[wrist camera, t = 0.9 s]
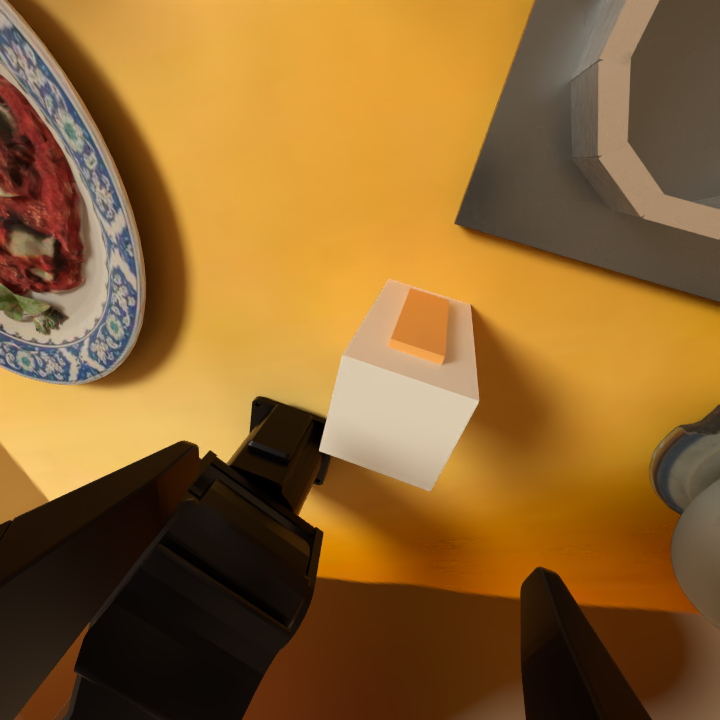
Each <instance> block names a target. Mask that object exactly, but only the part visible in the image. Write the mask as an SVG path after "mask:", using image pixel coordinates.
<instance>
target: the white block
mask: <svg viewBox="0 0 720 720" xmlns="http://www.w3.org/2000/svg"><path fill="white" fill-rule="evenodd" d="M478 403H479V390H478V379H477V368H476V357H475V346H474V335H473V324H472V313H471V304H468V303H465V302H462V301H459V300H455V299H452V298H449V297H446V296H443V295H440V294H436V293H433V292H430V291H427V290H424V289H420V288H417V287H414V286H411V285H408V284H405V283H401V282H398V281H395V280H392V279H388V281H387V282H386V284H385V286H384V287H383V289H382V291H381V292H380V294H379V296H378V297H377V299H376V300H375V302H374V304H373V305H372V307H371V309H370V310H369V312H368V314H367V315H366V317H365V319H364V320H363V322H362V323H361V325H360V327H359V328H358V330H357V332H356V333H355V335H354V337H353V338H352V340H351V342H350V343H349V345H348V346H347V348H346V350H345V351H344V353H343V355H342V358H341V363H340V367H339V371H338V375H337V379H336V383H335V387H334V391H333V395H332V399H331V403H330V408H329V412H328V416H327V420H326V424H325V428H324V432H323V436H322V440H321V444H320V448H319V451H320V452H323V453H326V454H329V455H331V456H334V457H337V458H340V459H342V460H345V461H348V462H350V463H353V464H356V465H359V466H361V467H364V468H367V469H370V470H372V471H375V472H378V473H380V474H383V475H386V476H389V477H391V478H394V479H397V480H400V481H402V482H405V483H408V484H410V485H413V486H416V487H419V488H421V489H424V490H427V491H430V492H431V490H432V488H433V486H434V484H435V483H436V481H437V479H438V477H439V475H440V473H441V472H442V470H443V468H444V466H445V464H446V462H447V460H448V459H449V457H450V455H451V453H452V451H453V449H454V448H455V446H456V444H457V442H458V440H459V438H460V436H461V435H462V433H463V431H464V429H465V427H466V425H467V423H468V422H469V420H470V418H471V416H472V414H473V412H474V411H475V409H476V407H477V405H478Z"/></svg>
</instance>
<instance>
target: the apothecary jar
mask: <svg viewBox="0 0 720 720" xmlns="http://www.w3.org/2000/svg"><path fill="white" fill-rule="evenodd" d="M649 472H650V481H651V484H652V487H653V489H654V491H655V493H656V494H657V495H658V497H659V498H660V499H661V500H662V501H663V502H664V503H665V504H666V505H667V506H668V507H669V508H670V509H672V510H673V511H675V512H677V513H679V514H681V517H680V519H679V521H678V523H677V525H676V527H675V530H674V533H673V536H672V541H671V560H672V566H673V570H674V573H675V576H676V579H677V581H678V583H679V585H680V587H681V588H682V590H683V592H684V593H685V595H686V596H687V598H688V599H689V600H690V602H691V603H692V604H693V605H694V607H695V608H696V609H697V610H698V611H699V612H700V613H701V614H702V615H703V616H704V617H705V618H706V619H707V620H708V621H709V622H711V623H712V624H713V625H714V626H716V627H717V628H718V629H719V630H720V405H718V406H717V407H716V408H715V409H714V410H713V411H712V412H711V413H710V414H708V415H707V416H706V417H705V418H704V419H703V420H701V421H699V422H697V423H694V424H688V425H680V426H678V427H677V428H675V429H674V430H673V431H672V432H671V433H670V434H668V435H667V436H666V437H665V439H664V440H663V441H662V442H661V443H660V444H659V446H658V447H657V448H656V450H655V451H654V453H653V456H652V460H651V463H650V469H649Z"/></svg>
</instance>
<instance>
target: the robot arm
mask: <svg viewBox="0 0 720 720" xmlns="http://www.w3.org/2000/svg"><path fill="white" fill-rule="evenodd" d="M258 402H259V403H261V404H259V403H258ZM325 424H326V420H325V419H322V418H320V417H317V416H314V415H311V414H308V413H306V412H303V411H300V410H297V409H294V408H292V407H289V406H286V405H283V404H280V403H278V402H275V401H272V400H269V399H267V398H264V397H260V396H259V397H256V398H255V399H254V401H253V402H252V412H251V423H250V434H249V435H248V437H247V438H246V439H245V440H244V442H243V443H242V444H241V446H240V447H239V448H238V449H237V451H236V452H235V453H234V455H233V456H232V457H231V459H230V460H229V461H228V462H227V464H226V463H224V462H223V461H222V460H220V459H219V458H217V457H216V456H217V455H216V454H215V453H213V452H212V451H209V452H208V453H207V454H206V455H205V456H204V457H203V459H200V458H199V448H198V446H197V445H196V444H194V443H191V442H188V441H180V442H177V443H175V444H173V445H171V446H169V447H167V448H164V449H162V450H160V451H158V452H156V453H154V454H152V455H149V456H147V457H145V458H143V459H141V460H139V461H136V462H134V463H132V464H130V465H128V466H126V467H123V468H121V469H119V470H117V471H115V472H113V473H110V474H108V475H106V476H104V477H102V478H100V479H98V480H95V481H93V482H91V483H89V484H87V485H85V486H82V487H80V488H78V489H76V490H74V491H72V492H69V493H67V494H65V495H63V496H61V497H59V498H56V499H54V500H52V501H50V502H48V503H46V504H44V505H41V506H39V507H37V508H35V509H33V510H31V511H29V512H26V513H24V514H22V515H20V516H18V517H15V518H14V519H13V521H12V520H9V521H7V522H4V523H2V524H0V720H14V719H15V717H16V716H17V715H18V713H19V712H20V711H21V709H22V708H23V707H24V706H25V704H26V703H27V702H28V701H29V699H30V698H31V696H32V695H33V694H34V692H35V691H36V690H37V689H38V688H39V686H40V685H41V684H42V682H43V681H44V680H45V679H46V677H47V676H48V675H49V673H50V672H51V671H52V670H53V668H54V667H55V666H56V664H57V663H58V662H59V661H60V659H61V658H62V657H63V655H64V654H65V653H66V652H67V650H68V649H69V648H70V646H71V645H72V644H73V642H74V641H75V640H76V638H77V637H78V636H79V635H80V633H81V632H82V631H83V629H84V628H85V627H86V626H87V624H88V623H89V622H90V625H89V629H88V632H87V634H86V635H85V637H84V639H83V643H82V646H81V649H80V652H79V655H78V658H77V661H76V664H75V668H74V672H75V673H77V677H76V681H75V685H74V689H73V693H72V696H71V697H70V698H69V700H68V701H67V702H66V704H65V705H64V706H63V708H62V709H61V710H60V712H59V713H58V714H57V715H56V717H55V718H54V719H53V720H242V718H243V716H244V714H245V712H246V710H247V708H248V706H249V704H250V702H251V700H252V697H253V695H254V693H255V691H256V690H257V688H258V686H259V684H260V682H261V680H262V678H263V676H264V674H265V672H266V671H267V669H268V667H269V666H270V664H271V663H272V661H273V659H274V658H275V656H276V654H277V653H278V652H279V650H281V649H282V648H283V647H284V646H285V645H286V644H287V643H288V642H289V641H290V639H291V638H292V637H293V636H294V634H295V633H296V631H297V629H298V628H299V626H300V625H301V622H302V621H303V619H304V617H305V615H306V613H307V610H308V608H309V605H310V603H311V600H312V597H313V592H314V587H315V582H316V575H317V569H318V563H319V557H320V551H321V545H322V539H323V532H322V531H321V530H320V529H318V528H317V527H316V528H314V527H313V526H312V525H310V524H309V523H307V522H306V521H305V520H303V519H302V518H300V517H299V516H298V515H299V513H300V511H301V509H302V506H303V504H304V502H305V500H306V498H307V495H308V493H309V491H310V489H311V487H312V484H316V485H322V484H323V482H324V480H325V476H326V473H327V469H328V465H329V462H330V458H331V455H329V454H326V453H323V452H320V451H319V448H320V444H321V440H322V436H323V432H324V428H325ZM520 619H521V620H520V621H521V622H520V627H521V631H520V633H521V634H520V635H521V637H520V639H521V641H520V642H521V644H520V646H521V648H520V649H521V673H522V683H523V694H524V704H525V714H526V720H652V719H651V717H650V716H649V714H648V713H647V711H646V710H645V708H644V707H643V705H642V703H641V702H640V700H639V699H638V697H637V696H636V694H635V693H634V691H633V689H632V688H631V686H630V685H629V683H628V682H627V680H626V679H625V677H624V675H623V674H622V672H621V671H620V669H619V668H618V666H617V665H616V663H615V662H614V660H613V658H612V657H611V655H610V654H609V652H608V651H607V649H606V648H605V646H604V644H603V643H602V641H601V640H600V638H599V637H598V635H597V634H596V632H595V631H594V629H593V627H592V626H591V624H590V623H589V621H588V620H587V618H586V617H585V615H584V613H583V612H582V610H581V609H580V607H579V606H578V604H577V603H576V601H575V599H574V598H573V596H572V595H571V593H570V592H569V590H568V589H567V587H566V586H565V584H564V582H563V581H562V579H561V578H560V576H559V575H558V574H557V573H556V572H554V571H552V570H549V569H546V568H543V567H537V568H535V569H534V571H533V572H532V573H531V574H530V575H529V576H528V577H527V578H526V580H525V581H524V582H523V584H522V586H521V592H520Z"/></svg>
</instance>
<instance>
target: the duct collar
mask: <svg viewBox="0 0 720 720" xmlns="http://www.w3.org/2000/svg"><path fill="white" fill-rule="evenodd" d="M455 224H457V225H460V226H464V227H467V228H470V229H474V230H477V231H481V232H484V233H487V234H491V235H494V236H498V237H501V238H504V239H508V240H511V241H515V242H518V243H521V244H525V245H528V246H531V247H535V248H538V249H542V250H545V251H548V252H552V253H555V254H559V255H562V256H565V257H569V258H572V259H576V260H579V261H582V262H586V263H589V264H593V265H596V266H599V267H603V268H606V269H609V270H613V271H616V272H620V273H623V274H626V275H630V276H633V277H637V278H640V279H643V280H647V281H650V282H654V283H657V284H660V285H664V286H667V287H670V288H674V289H677V290H681V291H684V292H687V293H691V294H694V295H698V296H701V297H704V298H708V299H711V300H715V301H718V302H720V0H535V1H534V3H533V6H532V9H531V12H530V14H529V17H528V20H527V23H526V25H525V28H524V31H523V34H522V36H521V39H520V42H519V45H518V48H517V50H516V53H515V56H514V59H513V61H512V64H511V67H510V70H509V72H508V75H507V78H506V81H505V83H504V86H503V89H502V92H501V95H500V97H499V100H498V103H497V106H496V108H495V111H494V114H493V117H492V119H491V122H490V125H489V128H488V130H487V133H486V136H485V139H484V142H483V144H482V147H481V150H480V153H479V155H478V158H477V161H476V164H475V166H474V169H473V172H472V175H471V178H470V180H469V183H468V186H467V189H466V191H465V194H464V197H463V200H462V202H461V205H460V208H459V211H458V213H457V216H456V219H455Z"/></svg>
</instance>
